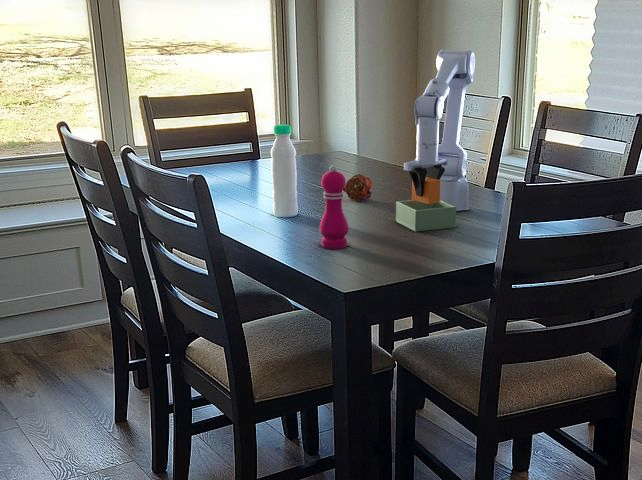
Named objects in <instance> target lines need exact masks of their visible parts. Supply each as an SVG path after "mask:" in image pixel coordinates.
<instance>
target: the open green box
mask: <svg viewBox="0 0 642 480" xmlns="http://www.w3.org/2000/svg"><path fill="white" fill-rule="evenodd" d="M395 222H396V223H397V224H399V225H401V226H404V227H406V228H407V229H409V230H412V231H413V232H425V231H433V230H434V231H435V230H443V229H452V228H456V227H457V225H456V224H457V211H456V207H455V206H453V205H451V204H449V203H446V202H444V201H442V200H440V202H438V203H433V204H426V203H422V202H419V201H415V200H412V199H407V200H398V201H397V200H396V202H395Z"/></svg>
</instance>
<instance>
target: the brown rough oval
mask: <svg viewBox="0 0 642 480" xmlns="http://www.w3.org/2000/svg"><path fill="white" fill-rule="evenodd" d="M372 184H373V183H372V180H371V178H370V177H367V176H366V175H365V174H361V173H357V174H355V175H352V176H351V177H350V178H349V179H348V180H347V181H346V185H345V187H344V189H343V190H342V191H343V192H344V193H345V194H346V195H347V197H348V198H349V199H350V200H351V201H353V200H355V201H357V202H362V201H364V199H365V200H368V199H370V198H371V196H372V190H373V185H372Z"/></svg>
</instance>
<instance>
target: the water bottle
mask: <svg viewBox="0 0 642 480" xmlns="http://www.w3.org/2000/svg"><path fill="white" fill-rule="evenodd" d="M273 133H274V136H275V139H274V141H273V143H272V144H273V145H272V147H271V149H270V156H271V165H270V169H271V185H272V193H271V194H272V196H271V197H272V214H273V215H274V216H275V217H277V218H291V217H295V216H297V215H298V214H299V205H298V190H297V187H298V186H297V185H298V171H297V159H296V156H297V150H296V147H295V146H294V144H293V141H292V140H291V135H292V126H291V125H290V124H287V123H286V124H275V125H274V126H273Z"/></svg>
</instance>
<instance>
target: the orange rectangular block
mask: <svg viewBox="0 0 642 480" xmlns="http://www.w3.org/2000/svg"><path fill="white" fill-rule="evenodd" d="M440 181H441V180H438V179H434V178H429V177H428V176H426V178H425V183H424V193H423V196H417V195H416V191H415V187H414V183H413V181H412V180H411V200H415V201H419V202H422V203H426V204H433V203H438V202H440Z"/></svg>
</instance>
